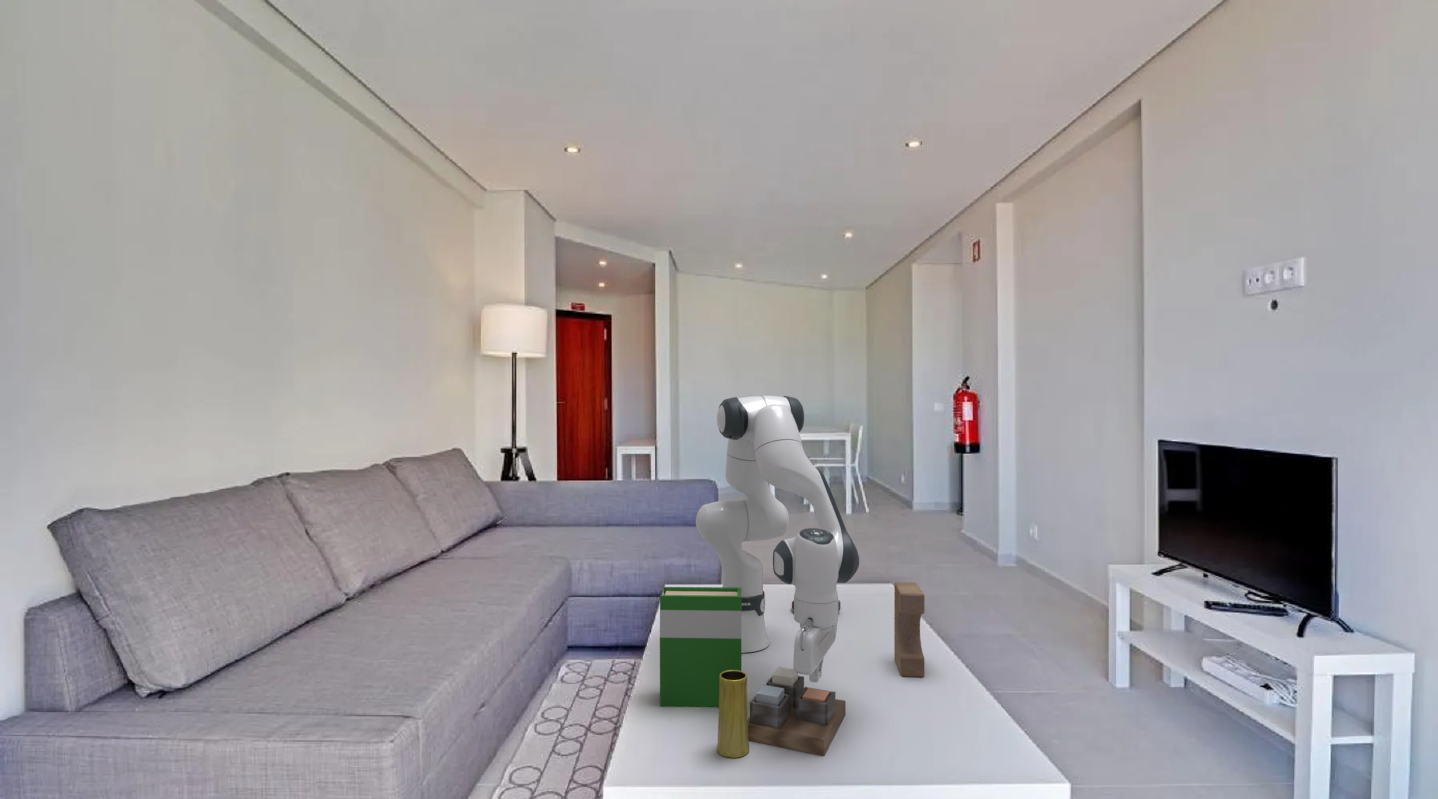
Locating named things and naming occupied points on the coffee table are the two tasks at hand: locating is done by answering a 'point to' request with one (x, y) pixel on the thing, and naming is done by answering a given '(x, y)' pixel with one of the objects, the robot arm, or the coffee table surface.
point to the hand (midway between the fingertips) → (815, 679)
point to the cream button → (785, 676)
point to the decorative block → (908, 629)
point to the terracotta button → (816, 695)
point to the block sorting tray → (796, 720)
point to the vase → (733, 714)
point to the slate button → (770, 695)
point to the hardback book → (697, 643)
